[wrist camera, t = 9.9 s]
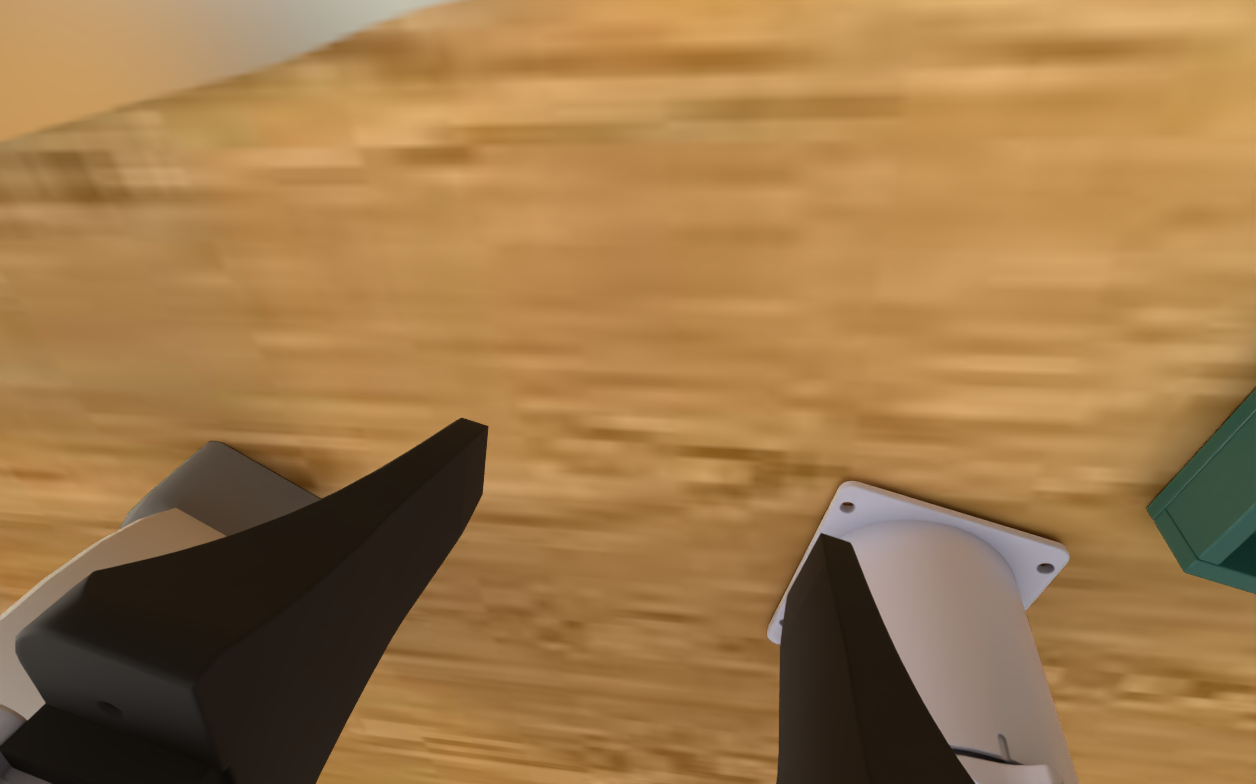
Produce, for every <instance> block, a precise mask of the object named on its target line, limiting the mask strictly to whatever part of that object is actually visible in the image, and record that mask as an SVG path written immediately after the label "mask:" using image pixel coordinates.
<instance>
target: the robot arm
mask: <svg viewBox="0 0 1256 784" xmlns="http://www.w3.org/2000/svg"><path fill="white" fill-rule="evenodd" d="M487 436H488V426H486V425H483V424H480V423H477V422H474V421H471V420H467V419H464V418H460V419H458V420H456V421H455V422H453V423H452V424H450V425H448V426H447V427H445V428H444V429H442V430H441V431H439V432H438V433H436V434H435V435H433V436H432V437H430V438H428V439H427V440H425V441H424V442H422V443H421V444H419V445H417V446H416V447H414V448H413V449H411V450H409V451H408V452H406V453H405V454H403V455H401V456H400V457H398V458H396V459H395V460H393V461H391V462H390V463H388V464H386V465H385V466H383V467H381V468H379V469H378V470H376V471H374V472H372V473H371V474H369V475H367V476H365V477H363V478H361V479H359V480H358V481H356V482H354V483H352V484H350V485H348V486H346V487H344V488H343V489H341V490H339V491H337V492H335V493H333V494H331V495H329V496H327V497H325V498H323V499H320V500H318V501H316V502H314V503H312V504H310V505H307V506H305V507H303V508H301V509H298V510H296V511H294V512H291V513H289V514H287V515H284V516H282V517H279V518H276V519H274V520H271V521H268V522H266V523H263V524H260V525H258V526H255V527H252V528H249V529H247V530H244V531H241V532H239V533H236V534H233V535H230V536H227V537H224V538H220V539H217V540H214V541H211V542H208V543H204V544H201V545H198V546H194V547H191V548H187V549H184V550H180V551H177V552H173V553H169V554H165V555H161V556H157V557H153V558H149V559H145V560H140V561H136V562H132V563H127V564H123V565H119V566H115V567H110V568H106V569H101V570H96V571H93V572H92V573H91V574H89V575H88V576H87V577H85V578H84V579H83V580H82V581H80V582H79V583H78V584H76V585H75V586H74V587H73V588H71V589H70V590H69V591H68V592H67V593H65V594H64V595H63V596H62V597H61V598H59V599H58V600H57V601H56V602H55V603H53V604H52V605H51V606H50V607H49V608H48V609H46V610H45V611H44V612H43V613H42V614H40V615H39V616H38V617H37V618H36V619H34V620H33V621H32V622H31V623H30V624H28V625H27V626H26V627H25V628H24V629H23V630H21V631H20V632H19V634H18V635H17V636H16V639H15V653H16V655H17V657H18V659H19V661H20V663H21V665H22V666H23V668H24V670H25V671H26V673H27V674H28V676H29V677H30V679H31V681H32V682H33V684H34V685H35V687H36V689H37V690H38V692H39V693H40V695H41V696H42V698H43V700H44V701H45V704H44V705H43V706H42V707H41V708H40V709H39V710H38V711H37V712H36V713H35V714H34V715H33V716H32V717H31V718H30V719H28V720H26V719H25V718H24V717H23V716H22V715H20V714H19V713H17V712H16V711H14V710H12V709H10V708H8V707H6V706H4V705H2V704H0V784H316V782H317V780H318V777H319V775H320V773H321V771H322V769H323V767H324V765H325V763H326V761H327V759H328V757H329V755H330V753H331V752H332V750H333V748H334V746H335V744H336V742H337V740H338V738H339V736H340V734H341V732H342V730H343V728H344V726H345V724H346V722H347V720H348V718H349V716H350V714H351V712H352V711H353V709H354V707H355V705H356V703H357V701H358V699H359V697H360V695H361V694H362V692H363V690H364V688H365V686H366V684H367V682H368V680H369V679H370V677H371V675H372V673H373V671H374V669H375V668H376V666H377V664H378V662H379V660H380V659H381V657H382V655H383V653H384V651H385V650H386V648H387V646H388V644H389V642H390V641H391V639H392V637H393V635H394V634H395V632H396V631H397V629H398V627H399V626H400V624H401V623H402V621H403V619H404V618H405V616H406V615H407V614H408V612H409V611H410V609H411V608H412V606H413V605H414V603H415V602H416V601H417V599H418V598H419V596H420V595H421V593H422V592H423V590H424V589H425V587H426V586H427V585H428V583H429V582H430V580H431V579H432V577H433V576H434V574H435V573H436V572H437V570H438V569H439V567H440V566H441V564H442V563H443V561H444V560H445V558H446V557H447V556H448V554H449V553H450V551H451V550H452V548H453V547H454V545H455V544H456V542H457V541H458V539H459V538H460V536H461V535H462V533H463V531H464V529H465V527H466V526H467V524H468V522H469V520H470V518H471V516H472V514H473V512H474V510H475V508H476V506H477V504H478V502H479V500H480V498H481V496H482V494H483V482H484V471H485V459H486V448H487ZM845 502H851V503H852V504H853V505H850V506H845V505H843V504H842V503H845ZM1069 559H1070V556H1069V553H1068V550H1067V548H1066V547H1065V546H1064V545H1063V544H1061V543H1059V542H1056V541H1053V540H1049V539H1046V538H1043V537H1039V536H1036V535H1033V534H1029V533H1026V532H1023V531H1020V530H1016V529H1013V528H1010V527H1006V526H1003V525H1000V524H996V523H993V522H990V521H987V520H983V519H980V518H977V517H973V516H970V515H967V514H963V513H960V512H957V511H954V510H950V509H947V508H944V507H940V506H937V505H934V504H930V503H927V502H924V501H921V500H917V499H914V498H911V497H907V496H904V495H901V494H897V493H894V492H891V491H888V490H884V489H881V488H878V487H874V486H871V485H868V484H865V483H861V482H858V481H846V482H844V483H842V484H841V485H840V486H839V488H838V490H837V492H836V494H835V496H834V498H833V500H832V502H831V504H830V506H829V508H828V509H827V511H826V513H825V515H824V517H823V519H822V521H821V523H820V525H819V527H818V529H817V531H816V533H815V535H814V537H813V539H812V541H811V543H810V545H809V547H808V549H807V551H806V553H805V555H804V557H803V559H802V561H801V562H800V564H799V566H798V568H797V570H796V572H795V574H794V576H793V578H792V580H791V582H790V584H789V586H788V588H787V590H786V592H785V594H784V596H783V598H782V600H781V602H780V604H779V606H778V608H777V610H776V612H775V614H774V615H773V617H772V619H771V621H770V623H769V625H768V628H767V637H768V639H769V640H770V641H772V642H774V643H776V644H779V645H780V693H779V756H778V774H777V783H776V784H1079V781H1078V778H1077V775H1076V771H1075V768H1074V765H1073V762H1072V759H1071V755H1070V752H1069V749H1068V746H1067V743H1066V740H1065V736H1064V733H1063V730H1062V727H1061V724H1060V720H1059V717H1058V714H1057V711H1056V708H1055V705H1054V701H1053V698H1052V695H1051V692H1050V689H1049V685H1048V682H1047V679H1046V676H1045V673H1044V670H1043V666H1042V663H1041V660H1040V657H1039V654H1038V650H1037V647H1036V644H1035V641H1034V638H1033V635H1032V631H1031V628H1030V625H1029V622H1028V619H1027V615H1026V612H1025V611H1026V610H1027V609H1028V608H1029V607H1030V605H1031V604H1032V603H1033V602H1034V601H1035V600H1036V599H1037V597H1038V596H1039V595H1040V594H1041V593H1042V592H1043V591H1044V589H1045V588H1046V587H1047V586H1048V585H1049V584H1050V583H1051V581H1052V580H1053V579H1054V578H1055V577H1056V576H1057V575H1058V573H1059V572H1060V571H1061V570H1062V569H1063V568H1064V567H1065V565H1066V564H1067V563H1068V561H1069ZM1043 563H1049V564H1047V565H1043V566H1042V565H1040V564H1043Z"/></svg>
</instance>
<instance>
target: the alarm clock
mask: <svg viewBox="0 0 1256 784" xmlns="http://www.w3.org/2000/svg"><path fill="white" fill-rule="evenodd" d="M318 500H320V499H319V498H317V497H315V496H314V495H312V494H310V493H309V492H307V491H305V490H303V489H302V488H300V487H298V486H296V485H295V484H293V483H291V482H289V481H288V480H286V479H284V478H282V477H281V476H279V475H277V474H275V473H274V472H272V471H270V470H268V469H267V468H265V467H263V466H261V465H260V464H258V463H256V462H254V461H253V460H251V459H249V458H247V457H246V456H244V455H242V454H240V453H239V452H237V451H235V450H233V449H232V448H230V447H228V446H226V445H225V444H223V443H221V442H214V441H210V442H208V443H207V444H206V445H204V446H203V447H202V448H201V449H199V450H198V451H197V452H196V453H194V454H193V455H192V456H191V457H190V458H189V459H187V460H186V461H185V462H184V463H183V464H182V465H180V466H179V467H178V468H177V469H176V470H175V471H174V472H172V473H171V474H170V475H169V476H168V477H167V478H165V479H164V480H163V481H162V482H161V483H160V484H158V485H157V486H156V487H155V488H154V489H153V490H151V491H150V492H149V493H148V494H147V495H146V496H145V497H144V498H143V499H142V500H141V501H140V502H139V503H138V504H137V505H136V506H135V507H134V508H133V509H132V510H131V511H130V512H129V513H128V514H127V516H126V518H125V520H124V522H123V523H122V525H121V527H120V529H119V530H117V531H116V532H114V533H112V534H110V535H108V536H106V537H104V538H103V539H101V540H99V541H97V542H95V543H94V544H92V545H91V546H90V547H88V548H87V549H85V550H84V551H82V552H81V553H80V554H78V555H77V556H75V557H74V558H73V559H71V560H70V561H68V562H67V563H65V564H64V565H63V566H61V567H60V568H58V569H57V570H56V571H54V572H53V573H51V574H50V575H48V576H47V577H46V578H44V579H43V580H42V581H40V582H39V583H38V584H37V585H36V586H35V587H33V588H32V589H31V590H30V591H29V592H28V593H26V594H25V595H24V596H23V597H22V598H20V599H19V600H18V601H17V602H16V603H15V604H13V605H12V606H11V607H10V608H9V609H8V610H6V611H5V612H4V613H3V614H2V615H1V616H0V704H2V705H4V706H6V707H8V708H10V709H12V710H14V711H16V712H17V713H19V714H20V715H22V716H23V717H24V718H25V719H26V720H28V719H30V718H31V717H32V716H33V715H34V714H35V713H36V712H37V711H38V710H39V709H40V708H41V707H42V706H43V705H44V704H45V701H44V700H43V698H42V696H41V695H40V693H39V692H38V690H37V689H36V687H35V685H34V684H33V682H32V681H31V679H30V677H29V676H28V674H27V673H26V671H25V670H24V668H23V666H22V665H21V663H20V661H19V659H18V657H17V655H16V653H15V639H16V636H17V635H18V634H19V632H20V631H21V630H23V629H24V628H25V627H26V626H27V625H28V624H30V623H31V622H32V621H33V620H34V619H36V618H37V617H38V616H39V615H40V614H42V613H43V612H44V611H45V610H46V609H48V608H49V607H50V606H51V605H52V604H53V603H55V602H56V601H57V600H58V599H59V598H61V597H62V596H63V595H64V594H65V593H67V592H68V591H69V590H70V589H71V588H73V587H74V586H75V585H76V584H78V583H79V582H80V581H82V580H83V579H84V578H85V577H87V576H88V575H89V574H91V573H92V572H93V571H96V570H101V569H106V568H110V567H115V566H119V565H123V564H127V563H132V562H136V561H140V560H145V559H149V558H153V557H157V556H161V555H165V554H169V553H173V552H177V551H180V550H184V549H187V548H191V547H194V546H198V545H201V544H204V543H208V542H211V541H214V540H217V539H220V538H224V537H227V536H230V535H233V534H236V533H239V532H241V531H244V530H247V529H249V528H252V527H255V526H258V525H260V524H263V523H266V522H268V521H271V520H274V519H276V518H279V517H282V516H284V515H287V514H289V513H291V512H294V511H296V510H298V509H301V508H303V507H305V506H307V505H310V504H312V503H314V502H316V501H318Z"/></svg>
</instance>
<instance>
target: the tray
mask: <svg viewBox="0 0 1256 784" xmlns="http://www.w3.org/2000/svg"><path fill="white" fill-rule="evenodd" d="M1147 511H1148V513H1149V514H1150V516H1151V518H1152V519H1153V520H1154V523H1155V524H1156V526H1157V528H1158V529H1159V531H1160V533H1161V534H1162V536H1163V538H1164V539H1165V541H1166V543H1167V544H1168V546H1169V548H1170V549H1171V551H1172V553H1173V554H1174V556H1175V558H1176V559H1177V561H1178V563H1179V564H1180V566H1181V568H1182V569H1183V571H1184V572H1185V573H1188V574H1191V575H1194V576H1198V577H1201V578H1204V579H1207V580H1211V581H1214V582H1217V583H1221V584H1224V585H1227V586H1231V587H1234V588H1237V589H1241V590H1244V591H1247V592H1251V593H1254V594H1256V389H1255V390H1254V391H1253V392H1252V393H1251V394H1250V395H1249V397H1248V398H1247V399H1246V400H1245V401H1244V402H1243V403H1242V404H1241V405H1240V406H1239V408H1238V409H1237V410H1236V411H1235V412H1234V413H1233V414H1232V415H1231V416H1230V417H1229V419H1228V420H1227V421H1226V422H1225V423H1224V424H1223V425H1222V426H1221V427H1220V428H1219V429H1218V431H1217V432H1216V433H1215V434H1214V435H1213V436H1212V437H1211V438H1210V439H1209V440H1208V442H1207V443H1206V444H1205V445H1204V446H1203V447H1202V448H1201V449H1200V450H1199V451H1198V452H1197V454H1196V455H1195V456H1194V457H1193V458H1192V459H1191V460H1190V461H1189V462H1188V463H1187V465H1186V466H1185V467H1184V468H1183V469H1182V470H1181V471H1180V472H1179V473H1178V474H1177V475H1176V477H1175V478H1174V479H1173V480H1172V481H1171V482H1170V483H1169V484H1168V485H1167V486H1166V488H1165V489H1164V490H1163V491H1162V492H1161V493H1160V494H1159V495H1158V496H1157V497H1156V498H1155V500H1154V501H1153V502H1152V503H1151V504H1150V505H1149V506H1148V507H1147Z"/></svg>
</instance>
